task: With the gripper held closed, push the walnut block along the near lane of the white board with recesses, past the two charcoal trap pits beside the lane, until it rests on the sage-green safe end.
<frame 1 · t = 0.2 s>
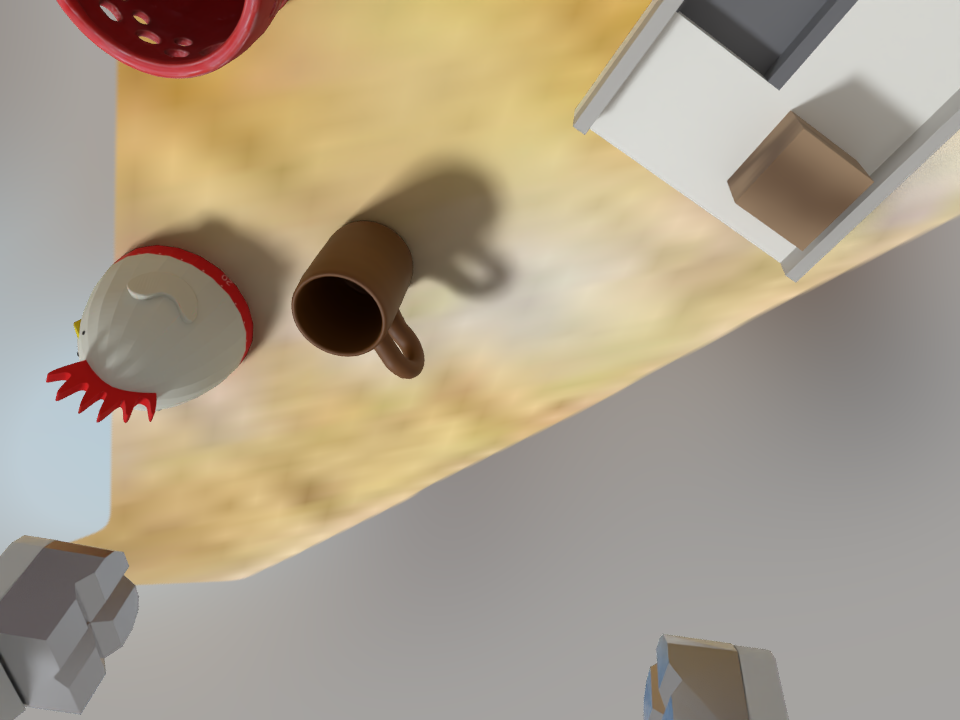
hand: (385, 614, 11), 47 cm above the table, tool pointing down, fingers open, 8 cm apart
kitchen timer: (181, 312, 68), on the table
block: (790, 171, 51), point 2 cm above the table, touching white board with recesses
mug: (390, 276, 63), on the table
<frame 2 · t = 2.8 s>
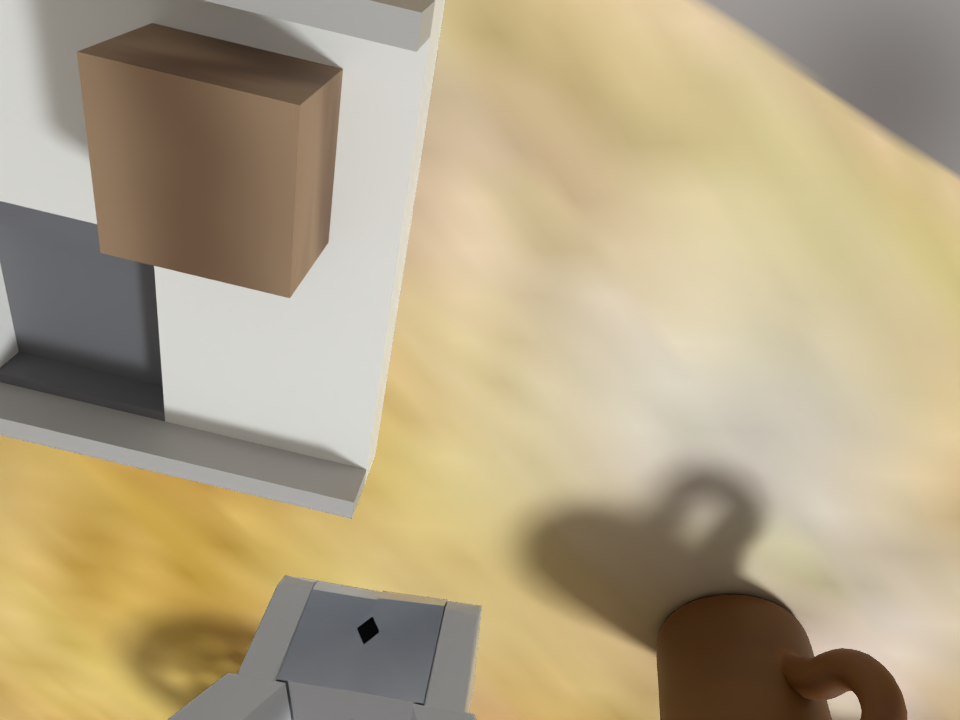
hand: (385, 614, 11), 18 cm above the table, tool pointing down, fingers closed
block: (246, 140, 24), point 2 cm above the table, touching white board with recesses
mug: (757, 611, 37), on the table
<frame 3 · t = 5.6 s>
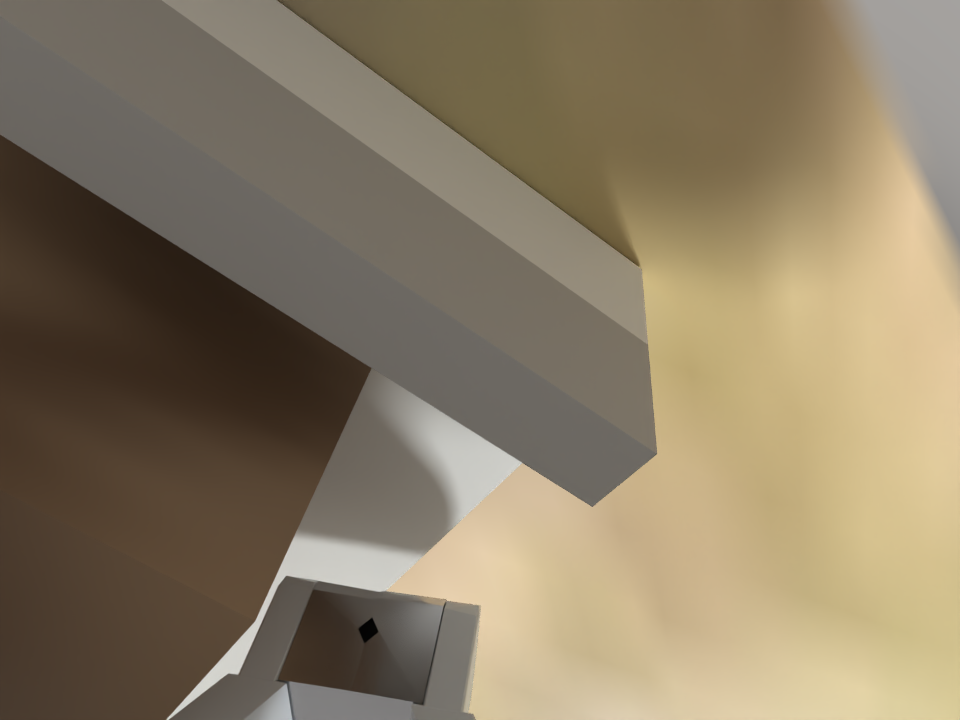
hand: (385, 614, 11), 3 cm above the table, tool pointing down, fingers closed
block: (96, 383, 11), point 2 cm above the table, touching gripper, white board with recesses
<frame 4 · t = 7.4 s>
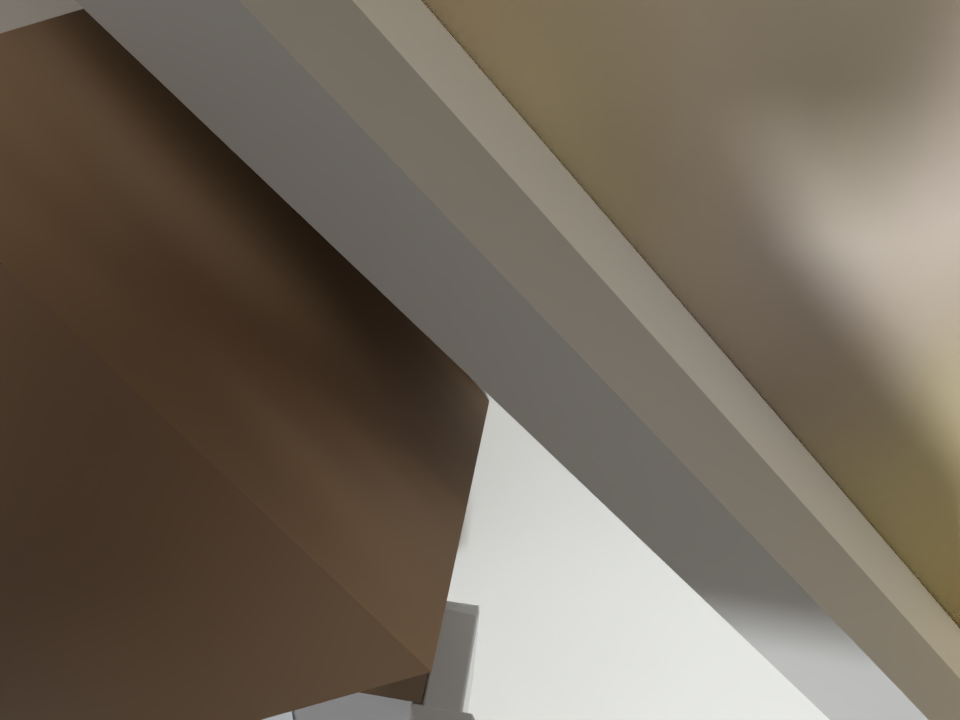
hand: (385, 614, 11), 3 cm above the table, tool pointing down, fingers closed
block: (182, 328, 10), point 2 cm above the table, touching gripper, white board with recesses
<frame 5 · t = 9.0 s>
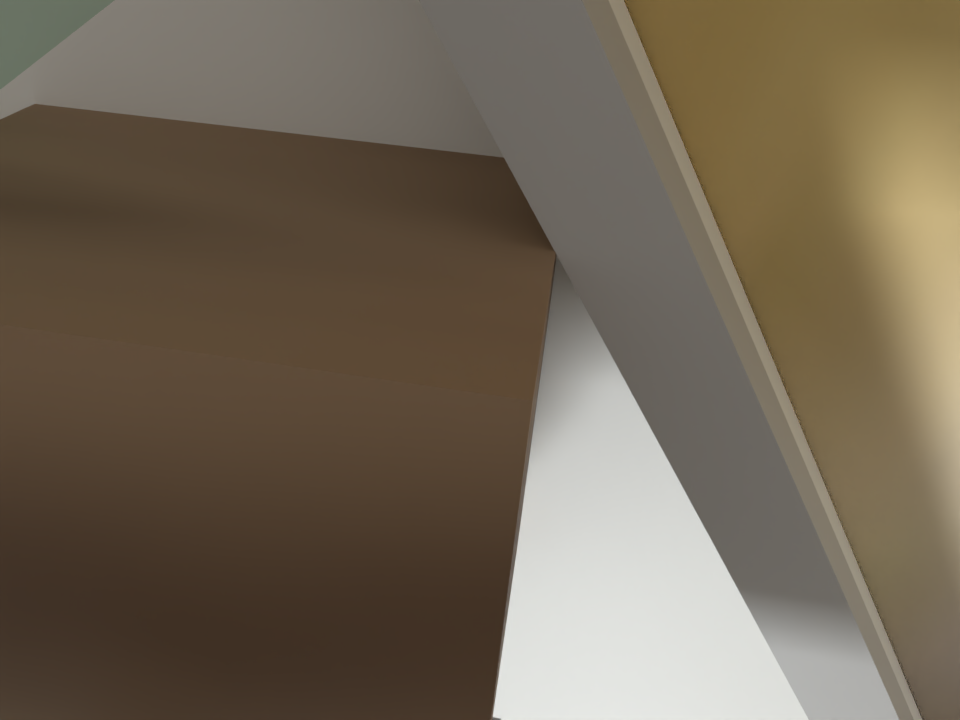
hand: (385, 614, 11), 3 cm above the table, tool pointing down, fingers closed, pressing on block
block: (313, 357, 10), point 2 cm above the table, touching gripper, white board with recesses
white board with recesses: (294, 544, 15), on the table
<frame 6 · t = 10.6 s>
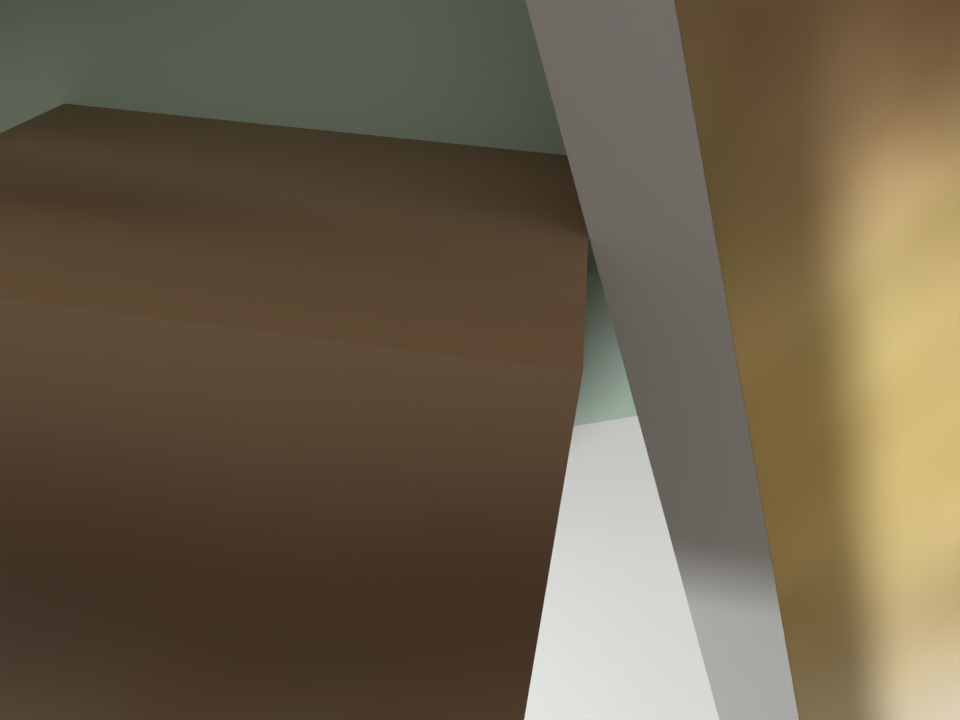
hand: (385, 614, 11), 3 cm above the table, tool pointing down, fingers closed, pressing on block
block: (335, 353, 10), point 2 cm above the table, touching gripper, safe end
white board with recesses: (358, 699, 18), on the table
safe end: (294, 196, 11), on the table
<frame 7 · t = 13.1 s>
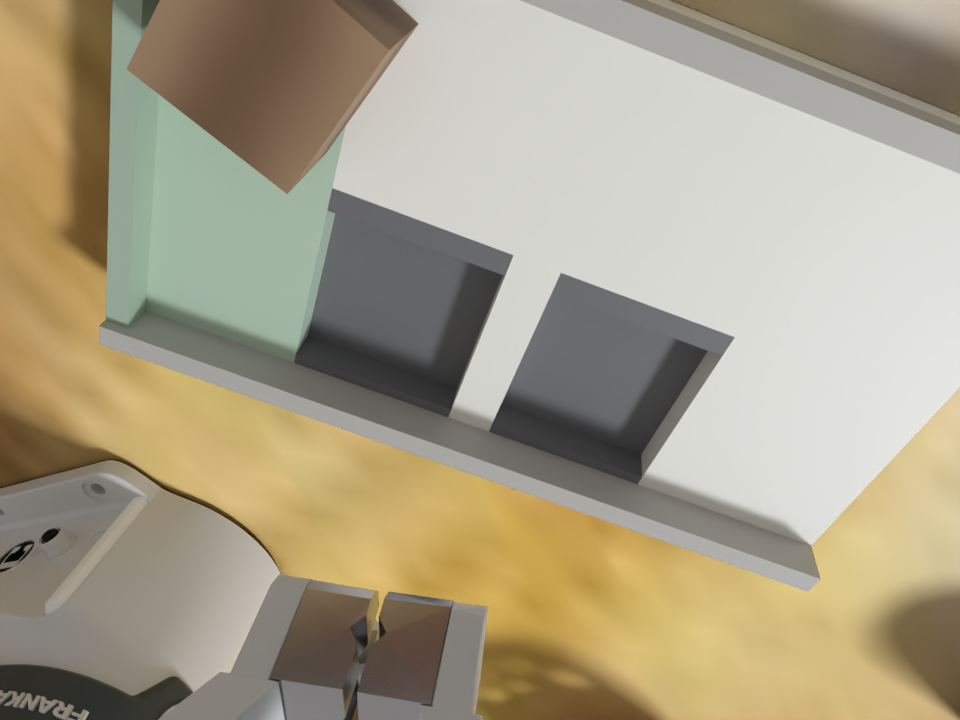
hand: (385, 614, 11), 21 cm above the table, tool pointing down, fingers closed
block: (299, 33, 25), point 2 cm above the table, touching safe end, white board with recesses
white board with recesses: (552, 246, 31), on the table
safe end: (282, 26, 27), on the table
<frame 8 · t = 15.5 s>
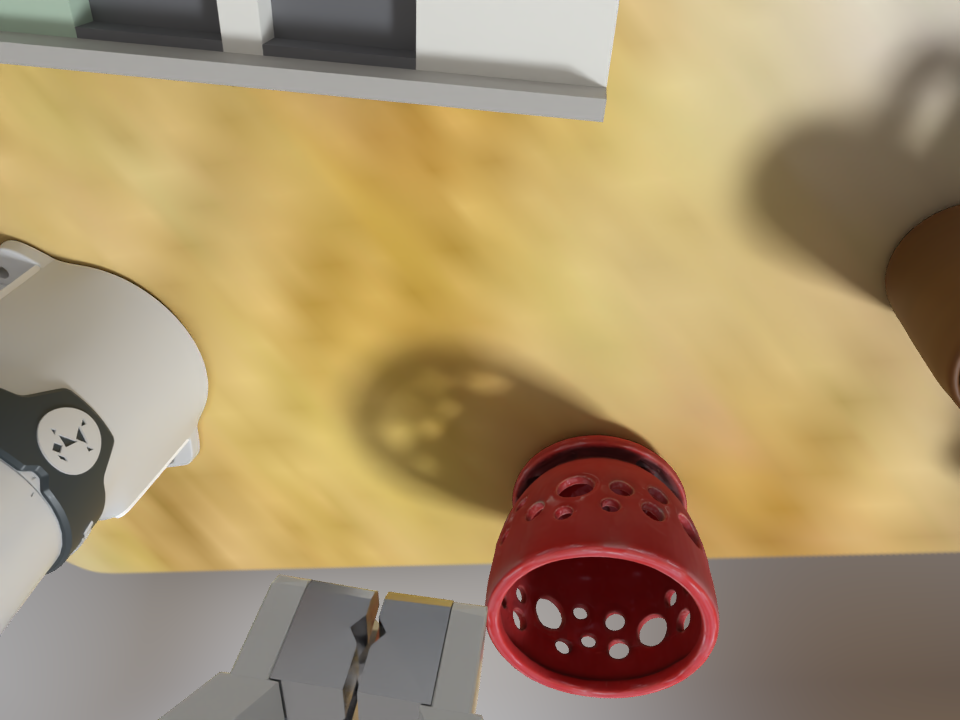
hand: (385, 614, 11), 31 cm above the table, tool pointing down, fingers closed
plant pot: (599, 482, 51), on the table
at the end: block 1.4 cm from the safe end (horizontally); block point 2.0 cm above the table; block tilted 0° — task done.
